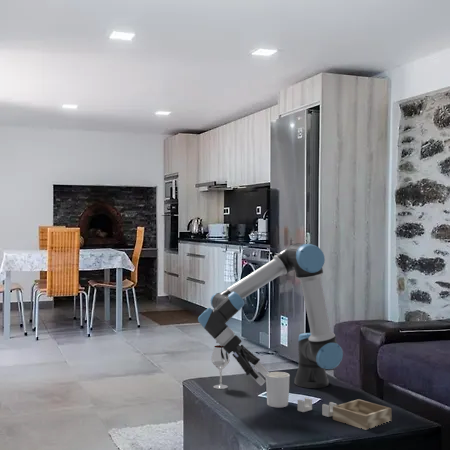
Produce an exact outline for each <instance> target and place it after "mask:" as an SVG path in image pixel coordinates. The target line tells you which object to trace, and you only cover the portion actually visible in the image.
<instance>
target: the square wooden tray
mask: <svg viewBox="0 0 450 450" xmlns="http://www.w3.org/2000/svg"><path fill="white" fill-rule="evenodd" d="M332 420H334V421H335V422H336V421H337V422H340V423H343V424H345V423H346V425H349V426H352V427H355V428H359V429H361V428H362V429H361V430H366V431H367V430H370V429H372V428H376V427H378V425H379V426H382V425H384V424H383V423H385V424H387V423H386V422H388V423H390V422H389V421H391V422H392V407H389V406H385V405H381V404H378V403H375V402H370V401H367V400H363V399H360V398H358V399H355V400H351V401H348V402H344V403H341V404H340V403H339V404H337V405H336V406H333V416H332ZM381 424H382V425H381ZM375 426H376V427H375ZM369 428H370V429H369Z"/></svg>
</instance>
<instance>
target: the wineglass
mask: <svg viewBox="0 0 450 450" xmlns="http://www.w3.org/2000/svg"><path fill="white" fill-rule="evenodd" d="M223 347H224V346H221V345H220V344H218V345H214V347H213V350H212V354H211V363H212V364H213V366H215V367H216V368H217V369H218V371H219V384H215V385H213V388H214V389H216V390H224V389H228V387H229V386H228V385H226V384H223V383H222V381H223V380H222V378H223V377H222V374H223V373H222V371H223V369H225V368H226V367H227V366H229V365H228V364H230V362H231V357H230V354H228V353H227V352H226V351H225V350H224V349H223Z"/></svg>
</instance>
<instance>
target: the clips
mask: <svg viewBox="0 0 450 450" xmlns="http://www.w3.org/2000/svg"><path fill="white" fill-rule="evenodd" d="M336 405H338V404H337V403H335V402H333V401H329V403H328V404H326V403H323V404H322V406H321V407H322V409H321V410H322V412H321V413H322V416H325V417H328V418H329V417H333V406H336ZM312 410H313V399H312V398H309V397H305V398H304V400H303V399H297V411H298V412H302V413H305V412H308V411H312Z"/></svg>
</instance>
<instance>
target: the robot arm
mask: <svg viewBox="0 0 450 450" xmlns="http://www.w3.org/2000/svg"><path fill="white" fill-rule="evenodd" d="M325 261H326V259H325V254H324V252H323V250H322V249H321V248H320V247H319V246H318V245H315V244H312V243H300V242H299V243H293V244H291V245H289V246H286V247H285V248H284V249H283V250H281V251H279V252H278V253H277V254H274V256H273V258H272V260H269V261H268V262H267V263H265V264H264V265H262V266H260V267H259V268H257V269H256V270H254V271H251V272H250V274H247V276H245V277H243V278H242V279H240V280H239V281H238V280H237V282H235V283H234V284H232V285H231V286H229V287H228V288H226V289H224V290H223V291H221V292H216V293H214V294H213V295H211V298H210V306H211V307H212V308H211V307H207V309H205V310H204V311H203V312H201V314H200V315H199V316H198V318H197V321H198V323H199V324H200V325H201V326H202V327H203V329H204V330H205V331H206V332H207V333H208V334H209V335H210V336H211V337H212V338H213V339H214V340H215V342H216V344H218V345H221V346H224V347H223V349H224V350H225V351H226V352H227V353H228V354H229V355H230V354H231V353H232V357H233V358H234V359H235V360H236V362H237V363H238V364H239V366H240V367H241V369H243V371H244V373H245V374H246V376H249V375H250V377H251V378H252V379H253V380H254V381H255V382H256V383H257V384H258V385H259V386H260V387H262V386H263V385H264V384H266V376H265V374H266V373H269V372H270V371H269V370H267V368H266V367H265V366H264V365H263V364H262V363H261V362H260V358H258V357H257V356H256V355H255V354H253V352H251V351H250V350H249V349H248V348H246V346H244V344H241V343H242V339H240V338H241V337H239V336H238V335H237V334H235V332H234V331H233V329H232V328H230V326H228V325H227V324H226V323H228V321H230V320H231V319H232V318H233V317H234V316H235V315H236V314H237V313H238V312H239V311H241V309H242V308H243V307H244V306H245V301H244V299H245V298H247V297H248V296H250V295H252V294H253V293H255V292H256V291H258V290H259V289H261V288H262V287H264V286H265V285H267V284H268V283H270V282H272V281H273V280H275V279H276V278H278V277H280V276H281V275H287V274H289V273H290V272H292V271H294V272H295V277H296V279H298V280H299V281H300V285H301V289H302V294H303V299H304V306H305V310H306V314H307V315H306V316H307V321H308V326H309V330H310V332H305V333H303V332H302V333H300V334H299V335H298V341H297V342H298V343H297V344H298V346H297V347H298V349H297V350H298V368H297V371H296V374H295V377H294V384H295V385H296V386H298V387H301V388H306V389H307V388H308V389H320V388H325V387H327V386H329V377H328V375H327V371H326V370H333V369H335V368H337V367H338V366H339V365H340V363H341V362H342V360H343V356H344V351H343V348H342V347H341V346H340V344H339V343H337V337H336V334H335V333H334V332H333V331H332V330H331V327H330V321H329V316H328V309H327V306H326V305H327V304H326V298H325V294H324V289H323V285H322V279H321V276H322V275H323V273H324V269H323V267H324V264H325ZM240 344H241V345H240ZM251 364H252V365H253V366H252V365H251ZM253 367H254V368H253ZM264 378H265V379H264Z"/></svg>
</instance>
